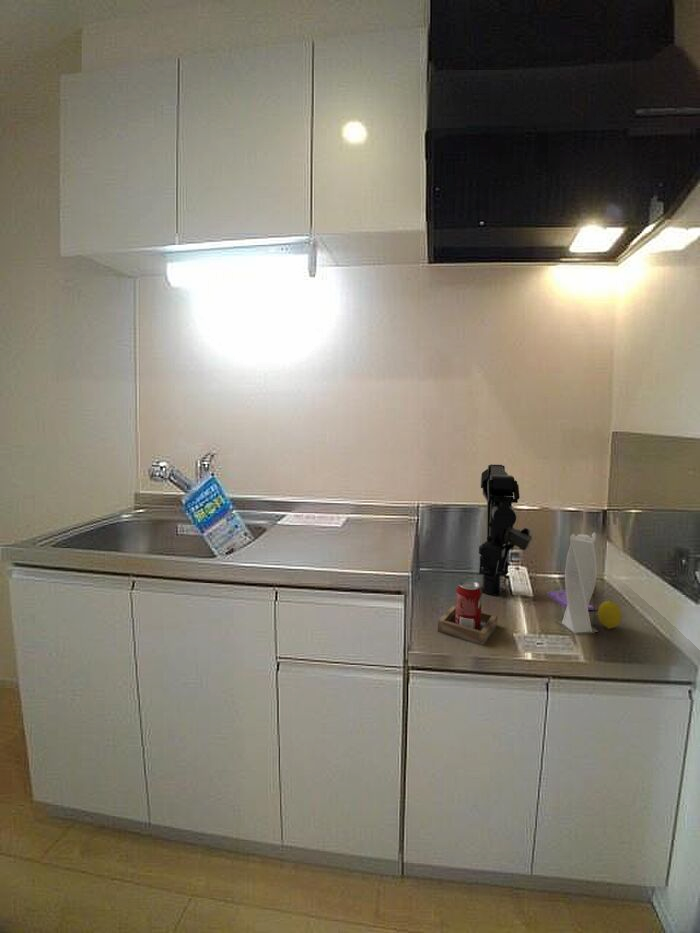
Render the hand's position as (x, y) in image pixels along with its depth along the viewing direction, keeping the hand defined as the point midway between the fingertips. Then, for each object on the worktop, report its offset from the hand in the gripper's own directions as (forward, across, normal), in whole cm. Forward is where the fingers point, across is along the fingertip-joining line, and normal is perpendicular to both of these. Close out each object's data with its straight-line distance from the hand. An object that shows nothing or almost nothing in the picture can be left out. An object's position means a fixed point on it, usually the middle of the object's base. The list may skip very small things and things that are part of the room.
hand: (497, 571), depth 124 cm
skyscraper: (+13, +4, -21) cm, 25 cm away
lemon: (+13, +9, -28) cm, 32 cm away
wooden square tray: (+13, -13, +4) cm, 19 cm away
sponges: (+14, +21, -17) cm, 30 cm away
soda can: (+13, -13, +4) cm, 18 cm away
